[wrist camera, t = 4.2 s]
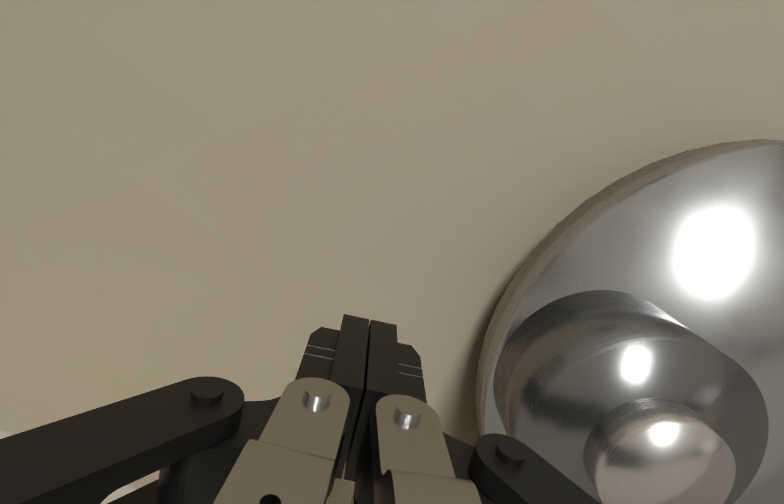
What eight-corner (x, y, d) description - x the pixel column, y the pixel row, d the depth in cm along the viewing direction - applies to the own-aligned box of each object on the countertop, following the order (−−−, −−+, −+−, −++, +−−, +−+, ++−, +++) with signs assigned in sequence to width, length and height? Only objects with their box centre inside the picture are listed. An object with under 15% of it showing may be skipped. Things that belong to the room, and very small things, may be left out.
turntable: (1065, 210, 15) (1465, 264, 10) (815, 599, 20) (986, 791, 14) (568, 78, 14) (693, 51, 8) (422, 528, 18) (438, 708, 13)
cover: (718, 314, 14) (854, 393, 10) (643, 476, 16) (733, 602, 12) (528, 270, 14) (588, 334, 9) (469, 442, 15) (500, 560, 11)
